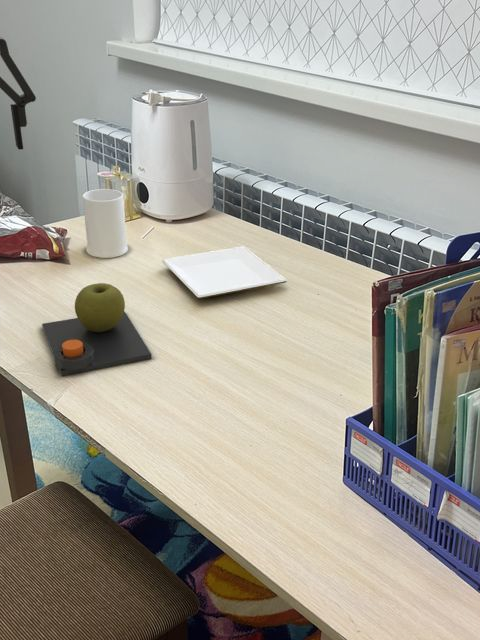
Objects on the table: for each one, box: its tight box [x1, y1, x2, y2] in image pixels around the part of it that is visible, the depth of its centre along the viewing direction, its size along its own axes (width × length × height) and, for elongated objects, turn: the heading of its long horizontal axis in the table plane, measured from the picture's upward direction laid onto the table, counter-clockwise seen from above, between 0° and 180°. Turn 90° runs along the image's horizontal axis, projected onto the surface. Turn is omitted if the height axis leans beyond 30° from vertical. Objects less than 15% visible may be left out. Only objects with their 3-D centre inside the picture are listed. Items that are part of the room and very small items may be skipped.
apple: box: [74, 282, 126, 332], centre depth 113 cm, size 8×8×7 cm
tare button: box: [62, 340, 83, 357], centre depth 105 cm, size 3×3×2 cm
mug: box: [82, 188, 129, 259], centre depth 144 cm, size 12×8×12 cm
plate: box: [161, 245, 288, 300], centre depth 135 cm, size 19×19×2 cm
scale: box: [41, 310, 152, 377], centre depth 112 cm, size 16×14×2 cm
